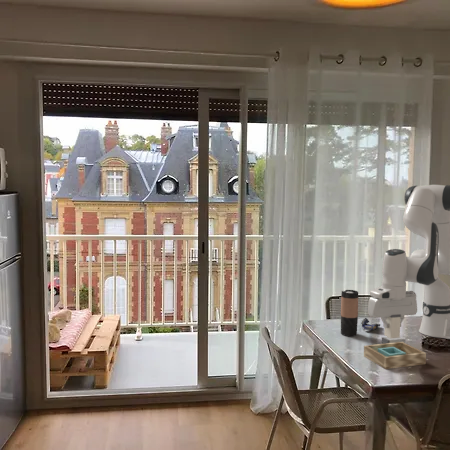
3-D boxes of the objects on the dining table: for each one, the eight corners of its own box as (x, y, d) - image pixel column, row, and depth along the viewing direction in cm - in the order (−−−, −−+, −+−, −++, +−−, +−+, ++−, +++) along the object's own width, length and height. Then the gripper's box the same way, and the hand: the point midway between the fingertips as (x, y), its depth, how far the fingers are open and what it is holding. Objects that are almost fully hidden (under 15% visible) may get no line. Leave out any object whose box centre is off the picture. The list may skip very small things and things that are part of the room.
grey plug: (399, 344, 201) (399, 335, 201) (405, 347, 197) (405, 338, 197) (381, 346, 198) (381, 337, 198) (387, 349, 195) (387, 340, 194)
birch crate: (401, 351, 192) (402, 341, 192) (425, 364, 179) (426, 353, 178) (363, 356, 187) (364, 345, 186) (385, 369, 173) (385, 357, 173)
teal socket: (393, 355, 186) (393, 346, 185) (405, 361, 179) (406, 353, 178) (377, 357, 183) (377, 348, 183) (389, 363, 176) (389, 354, 176)
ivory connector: (393, 334, 183) (393, 311, 182) (399, 337, 179) (400, 314, 178) (384, 335, 181) (385, 312, 181) (390, 338, 178) (391, 315, 177)
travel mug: (357, 337, 211) (359, 293, 209) (340, 336, 212) (341, 292, 211) (356, 332, 218) (357, 290, 217) (339, 331, 220) (341, 289, 218)
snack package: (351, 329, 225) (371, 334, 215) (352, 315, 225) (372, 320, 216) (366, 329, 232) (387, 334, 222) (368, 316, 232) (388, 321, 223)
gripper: (410, 288, 185) (409, 323, 186) (366, 291, 179) (364, 326, 180) (421, 292, 179) (420, 327, 180) (376, 294, 173) (374, 331, 174)
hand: (392, 327), depth 180 cm, fingers closed on ivory connector, 4 cm apart
